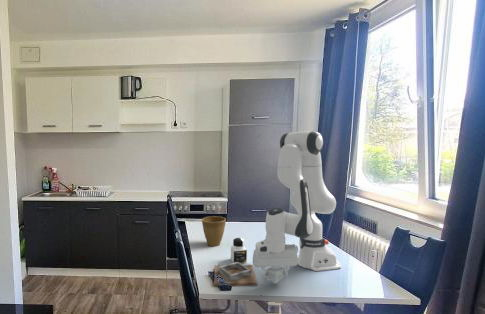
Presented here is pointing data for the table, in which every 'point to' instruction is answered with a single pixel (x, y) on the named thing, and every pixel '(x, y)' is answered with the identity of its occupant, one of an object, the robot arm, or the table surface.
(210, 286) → the table surface
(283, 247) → the robot arm
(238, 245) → the medicine bottle
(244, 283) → the pocket board
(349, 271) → the table surface
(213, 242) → the plant pot
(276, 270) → the small box
